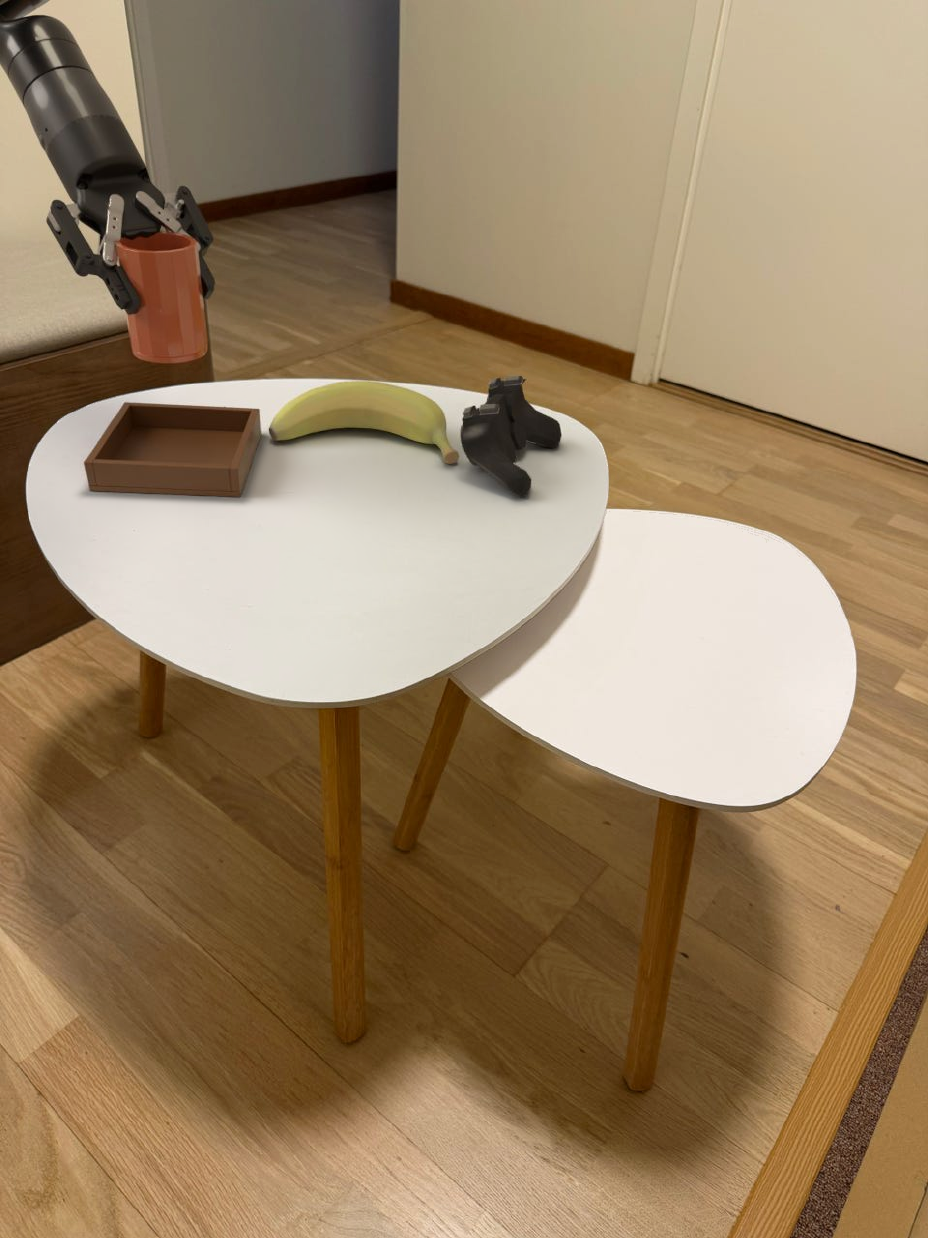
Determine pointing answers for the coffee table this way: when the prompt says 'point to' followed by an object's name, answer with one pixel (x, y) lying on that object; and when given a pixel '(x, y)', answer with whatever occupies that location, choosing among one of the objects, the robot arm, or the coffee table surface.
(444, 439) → the banana
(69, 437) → the coffee table surface
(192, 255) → the cup
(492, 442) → the chunky heeled booties
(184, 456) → the tray
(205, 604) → the coffee table surface
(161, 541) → the coffee table surface
